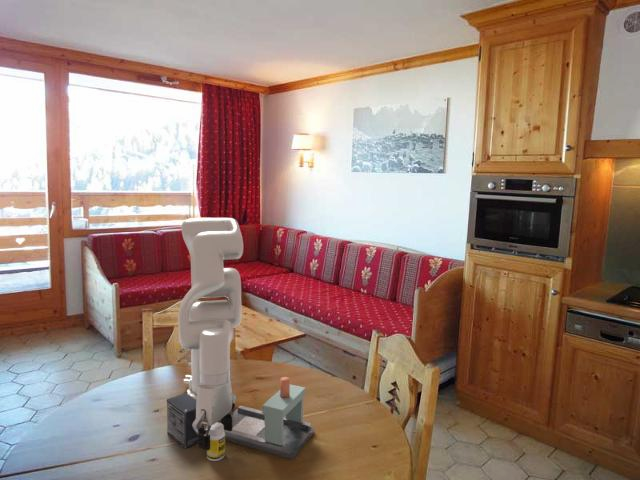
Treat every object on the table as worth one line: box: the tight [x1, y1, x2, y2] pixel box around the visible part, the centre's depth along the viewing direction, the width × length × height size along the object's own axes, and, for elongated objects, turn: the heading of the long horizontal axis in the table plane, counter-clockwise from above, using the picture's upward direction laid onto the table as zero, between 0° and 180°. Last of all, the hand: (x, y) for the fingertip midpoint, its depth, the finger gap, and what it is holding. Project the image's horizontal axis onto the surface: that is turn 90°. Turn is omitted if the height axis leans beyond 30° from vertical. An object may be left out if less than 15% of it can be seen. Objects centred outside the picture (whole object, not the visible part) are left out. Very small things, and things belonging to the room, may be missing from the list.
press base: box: [224, 405, 315, 461], centre depth 132 cm, size 26×14×3 cm, turn 67°
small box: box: [166, 392, 205, 449], centre depth 130 cm, size 11×6×10 cm, turn 45°
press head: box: [262, 376, 306, 445], centre depth 128 cm, size 6×14×15 cm, turn 157°
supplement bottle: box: [206, 422, 226, 462], centre depth 121 cm, size 5×5×8 cm
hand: (216, 438), depth 121 cm, fingers open, 9 cm apart
